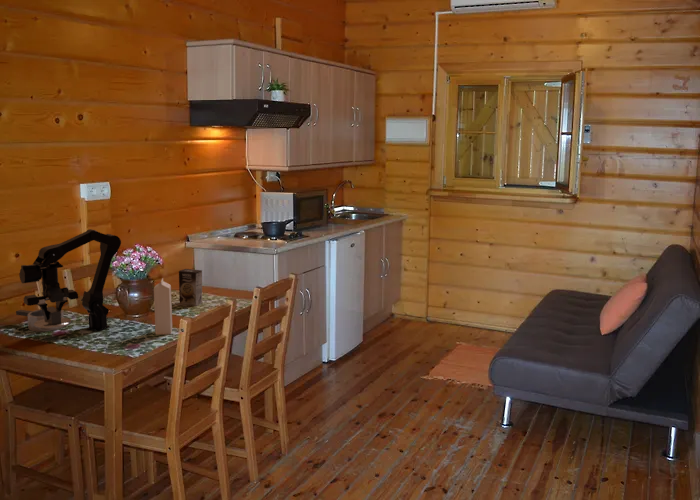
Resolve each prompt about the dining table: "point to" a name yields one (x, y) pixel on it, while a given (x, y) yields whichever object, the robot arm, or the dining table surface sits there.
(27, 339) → the dining table surface
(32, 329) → the pot
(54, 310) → the cup and saucer
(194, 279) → the coffee box
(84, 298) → the robot arm
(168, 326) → the milk
